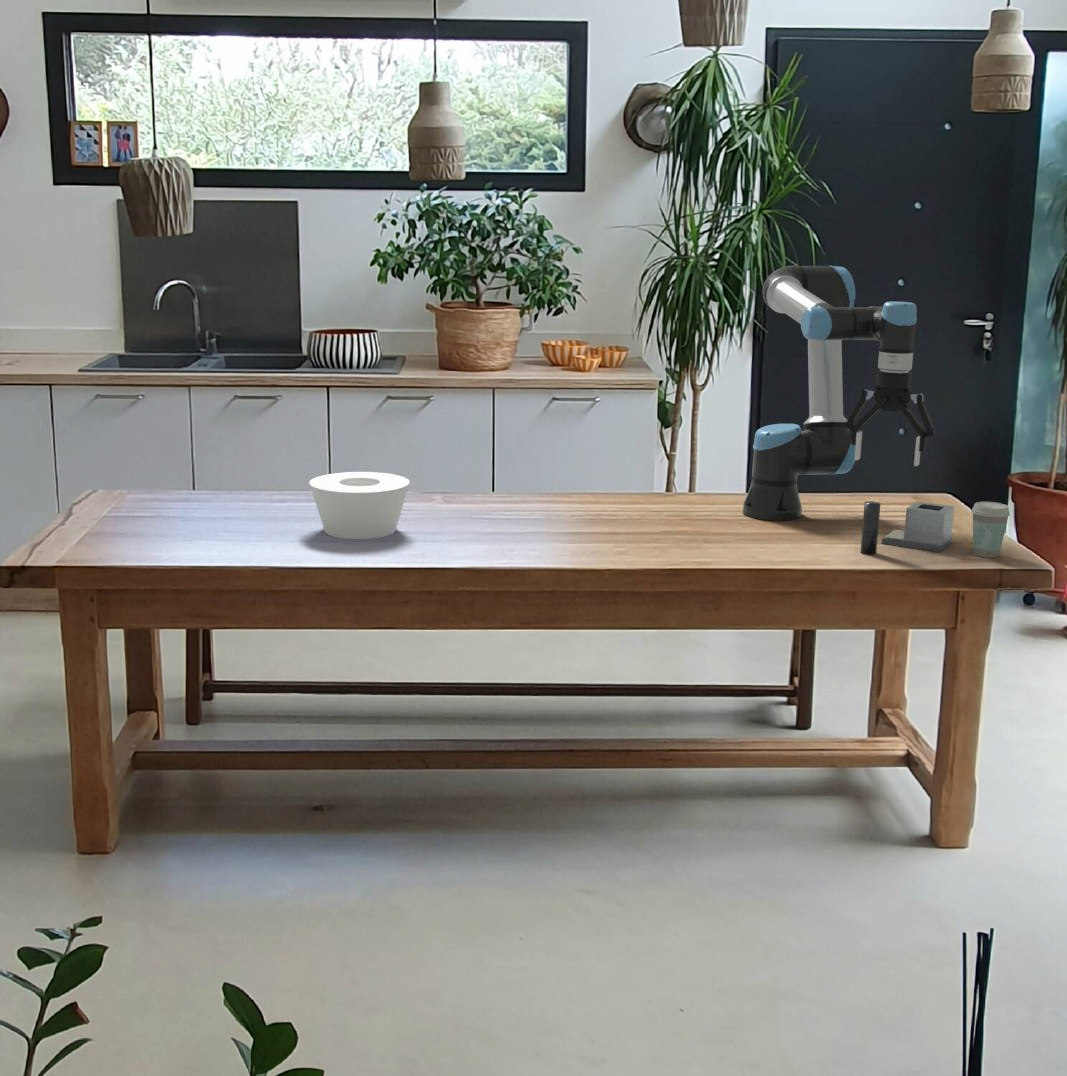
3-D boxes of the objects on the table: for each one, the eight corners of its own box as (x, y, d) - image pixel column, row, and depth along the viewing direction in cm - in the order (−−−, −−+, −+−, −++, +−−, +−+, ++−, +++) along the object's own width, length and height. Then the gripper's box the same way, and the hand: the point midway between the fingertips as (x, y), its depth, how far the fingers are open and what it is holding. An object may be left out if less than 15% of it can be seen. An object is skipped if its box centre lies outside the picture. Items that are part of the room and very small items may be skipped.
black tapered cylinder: (858, 553, 315) (862, 503, 312) (863, 550, 318) (867, 500, 315) (873, 555, 313) (877, 505, 310) (878, 552, 316) (882, 502, 313)
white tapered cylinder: (428, 526, 332) (428, 479, 329) (372, 547, 311) (372, 497, 308) (348, 514, 343) (348, 468, 340) (289, 533, 322) (288, 484, 319)
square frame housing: (881, 543, 325) (884, 506, 322) (894, 534, 334) (897, 498, 331) (939, 552, 318) (943, 514, 315) (951, 542, 327) (955, 505, 325)
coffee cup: (961, 550, 320) (966, 500, 317) (996, 550, 321) (1001, 500, 318) (975, 559, 312) (981, 509, 309) (1011, 559, 313) (1017, 509, 310)
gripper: (836, 368, 309) (829, 459, 314) (948, 376, 299) (939, 470, 304) (843, 365, 316) (836, 454, 321) (953, 372, 305) (944, 464, 310)
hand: (886, 462), depth 312 cm, fingers open, 13 cm apart
